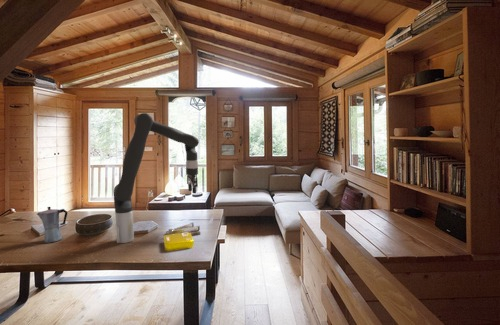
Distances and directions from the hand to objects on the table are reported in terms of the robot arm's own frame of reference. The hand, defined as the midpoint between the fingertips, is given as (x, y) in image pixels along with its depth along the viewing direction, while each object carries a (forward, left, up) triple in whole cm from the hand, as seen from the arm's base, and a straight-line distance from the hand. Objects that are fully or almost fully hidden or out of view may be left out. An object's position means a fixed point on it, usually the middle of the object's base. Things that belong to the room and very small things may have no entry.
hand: (192, 192), depth 182 cm
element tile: (-16, -23, -25) cm, 37 cm away
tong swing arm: (-8, -5, -22) cm, 24 cm away
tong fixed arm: (-9, -10, -22) cm, 26 cm away
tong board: (-9, -8, -24) cm, 27 cm away
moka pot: (-77, +21, -24) cm, 83 cm away
